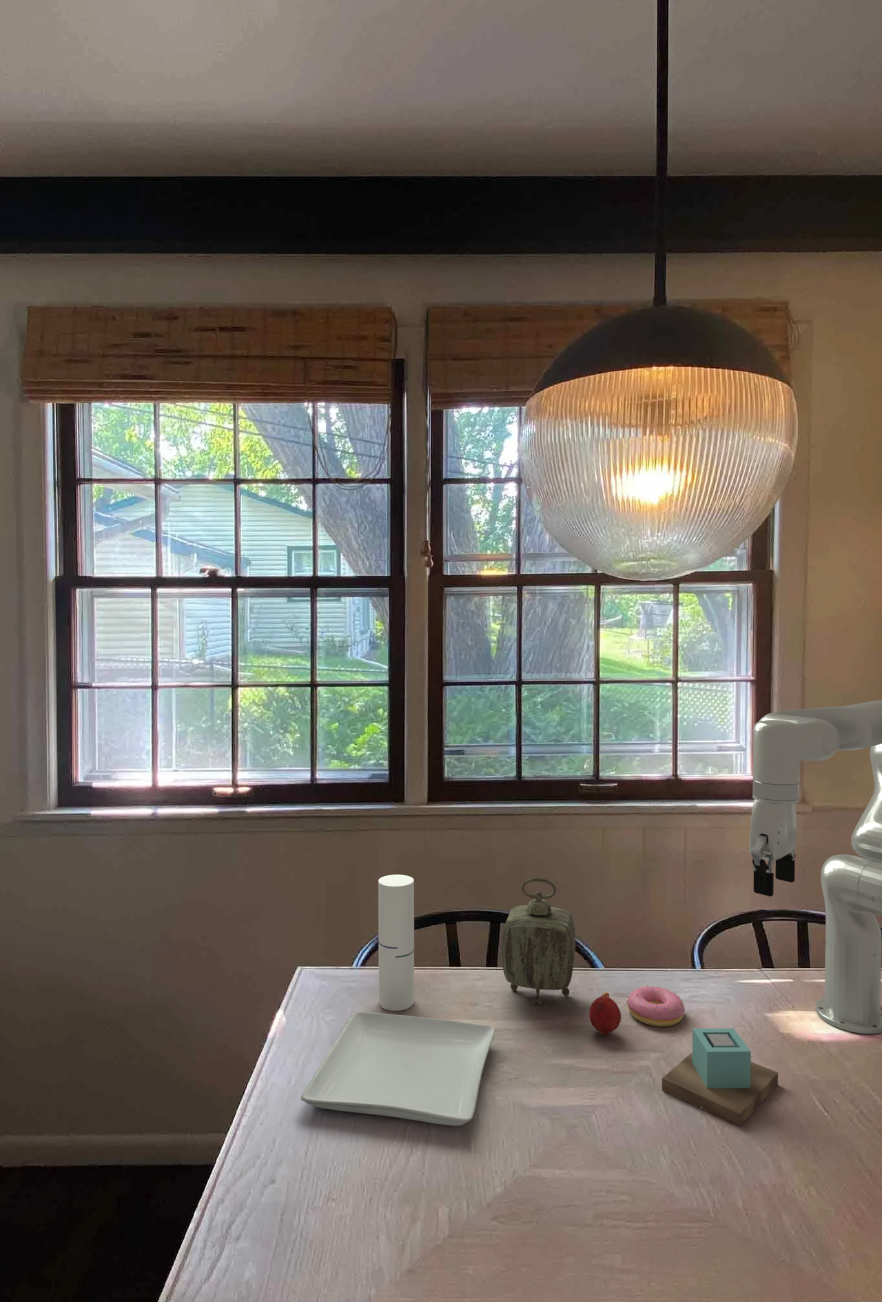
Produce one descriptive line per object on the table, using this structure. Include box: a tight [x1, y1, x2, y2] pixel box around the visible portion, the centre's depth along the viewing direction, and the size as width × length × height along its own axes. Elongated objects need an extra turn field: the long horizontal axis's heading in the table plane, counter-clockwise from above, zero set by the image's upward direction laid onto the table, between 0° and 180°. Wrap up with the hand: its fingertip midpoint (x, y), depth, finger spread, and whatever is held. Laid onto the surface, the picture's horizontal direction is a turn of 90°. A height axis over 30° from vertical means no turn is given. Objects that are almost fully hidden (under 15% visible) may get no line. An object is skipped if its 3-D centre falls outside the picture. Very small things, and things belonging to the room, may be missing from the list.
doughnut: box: [626, 984, 686, 1027], centre depth 149 cm, size 11×11×4 cm
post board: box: [661, 1034, 779, 1127], centre depth 125 cm, size 15×13×8 cm
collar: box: [691, 1027, 752, 1088], centre depth 125 cm, size 7×7×6 cm
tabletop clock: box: [500, 877, 577, 1006], centre depth 155 cm, size 14×9×25 cm, turn 77°
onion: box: [588, 991, 622, 1036], centre depth 141 cm, size 6×6×8 cm
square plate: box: [300, 1011, 496, 1127], centre depth 129 cm, size 27×27×4 cm
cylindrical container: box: [378, 874, 415, 1012], centre depth 154 cm, size 7×7×25 cm
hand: (774, 887), depth 134 cm, fingers open, 9 cm apart
